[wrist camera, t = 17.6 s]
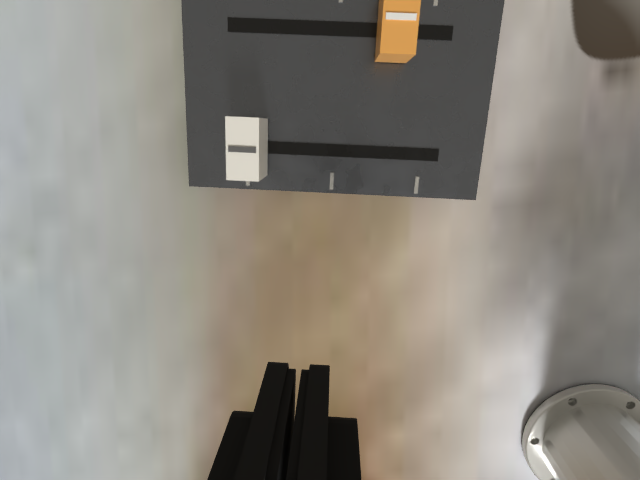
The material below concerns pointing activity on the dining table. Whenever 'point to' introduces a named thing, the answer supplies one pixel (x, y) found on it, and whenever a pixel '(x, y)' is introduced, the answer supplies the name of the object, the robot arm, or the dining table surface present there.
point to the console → (341, 95)
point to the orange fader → (397, 30)
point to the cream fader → (246, 148)
